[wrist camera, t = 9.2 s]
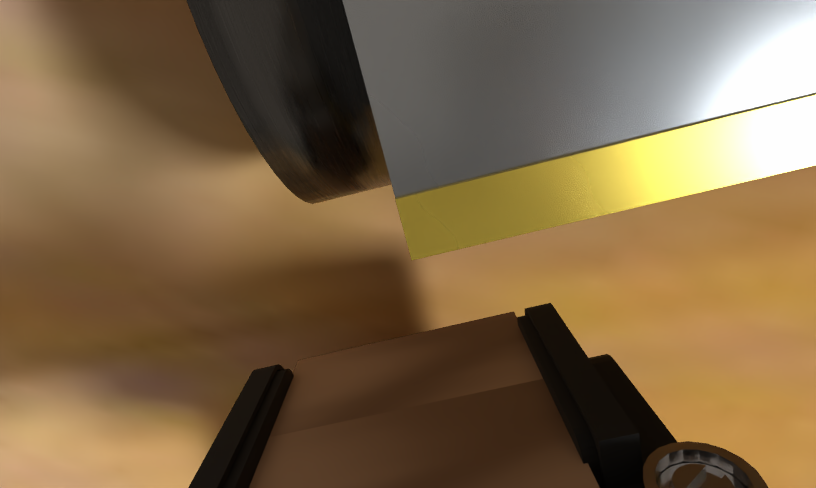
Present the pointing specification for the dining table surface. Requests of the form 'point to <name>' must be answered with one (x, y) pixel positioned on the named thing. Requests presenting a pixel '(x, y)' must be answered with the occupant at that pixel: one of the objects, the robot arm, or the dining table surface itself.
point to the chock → (423, 417)
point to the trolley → (517, 102)
